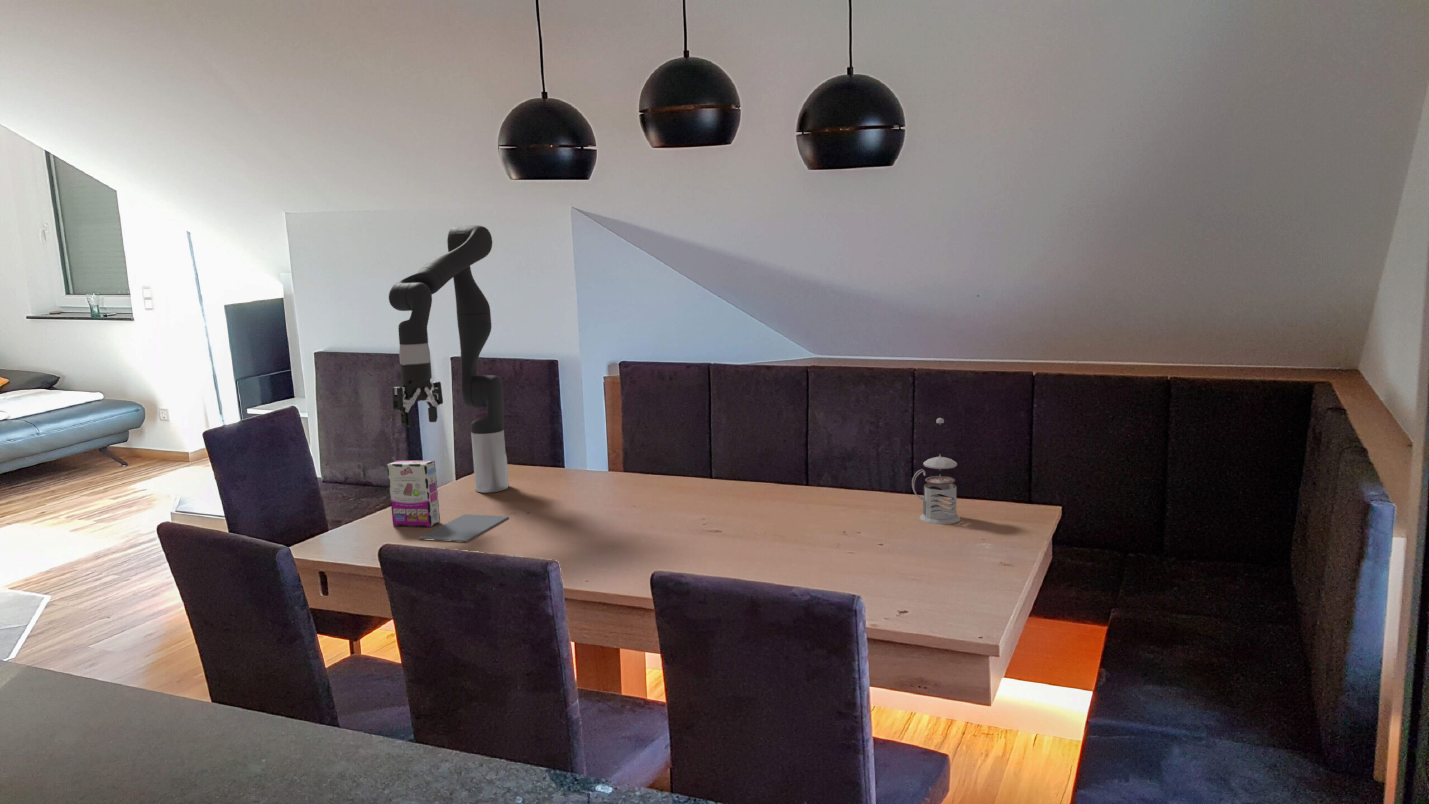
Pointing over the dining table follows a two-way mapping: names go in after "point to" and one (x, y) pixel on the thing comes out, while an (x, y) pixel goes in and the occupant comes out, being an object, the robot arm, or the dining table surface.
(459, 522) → the mat
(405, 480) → the candy bar box
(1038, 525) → the dining table surface
